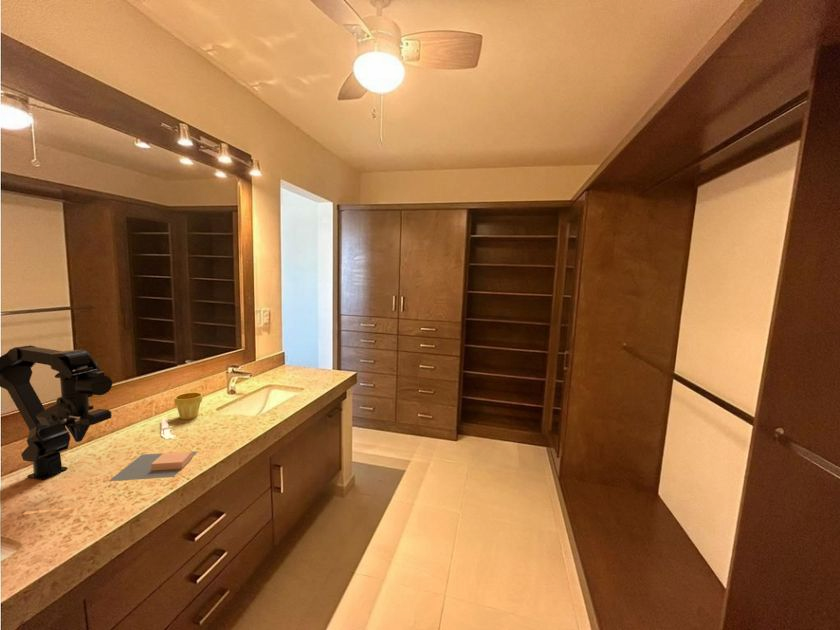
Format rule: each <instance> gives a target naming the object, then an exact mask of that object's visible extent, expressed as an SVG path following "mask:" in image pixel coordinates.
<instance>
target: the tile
mask: <svg viewBox="0 0 840 630" xmlns="http://www.w3.org/2000/svg"><path fill="white" fill-rule="evenodd" d="M193 452H194V451H180V452H179V451H178V452H177V451H176V452H162V453H163V454H162V455H161V456H160V457H159V458H157V459H156V460H155V461H154V462H153V463H152V464H151V470H166V469H181V470H182V469H183V468H184V467H185V466H187V464H188V463H189V462H190V461H191V460H192V459H193V457H194V456H193Z"/></svg>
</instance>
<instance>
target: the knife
mask: <svg viewBox="0 0 840 630" xmlns="http://www.w3.org/2000/svg"><path fill="white" fill-rule="evenodd" d="M170 422H171V419H170V418H163V419H161V422H160V429H161V431H160V434H161V435H160V436H161V438H163V439H164V438H165V439H164V440H166V439H168V440H169V439H175V438H174V436H175V437H176V435H174V434H172V433H171V431H172V430H173V429H174V427H173V426H172V425H171V426H170V425H169V423H170ZM172 428H173V429H172Z"/></svg>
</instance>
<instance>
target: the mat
mask: <svg viewBox="0 0 840 630" xmlns="http://www.w3.org/2000/svg"><path fill="white" fill-rule="evenodd" d="M192 452H193V457H195V456H196V454H197V453H198V452H199V451H198V450H197V451H192ZM163 453H164V452H161V453H148V454H147V453H146V454H141V455H139V456H138V457H137V458H136V459H134V460H133V461H132V462H131V463H129V464H128V465H127V466H125V467H124V468H123V469H121V471H119V472H118V473H117V474H115V476H113V477H112V478H110V479H109V480H108V481H109V482H115V481H129V480H132V481H133V480H145V479H146V480H147V479H159V478H162V479H164V478H174V477H175V476H176V475H177V474H179V472H180V471H181V470H182V469H166V470H151V464H152V463H153V462H154V461H155V460H156V459H157V458H159V457H160V456H161V455H162V454H163Z"/></svg>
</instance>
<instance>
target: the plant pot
mask: <svg viewBox="0 0 840 630" xmlns="http://www.w3.org/2000/svg"><path fill="white" fill-rule="evenodd" d="M202 401H203V394H202V393H201V392H197V391H196V392H194V391H193V392H191V391H190V392H183V393H180V394H178V395H176V396H174V405H175V406H176V409H177V412H178V416H179V419H181V420H191V419H194V418H196V417H198V415H199V410H200V405H201V403H202Z"/></svg>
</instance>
